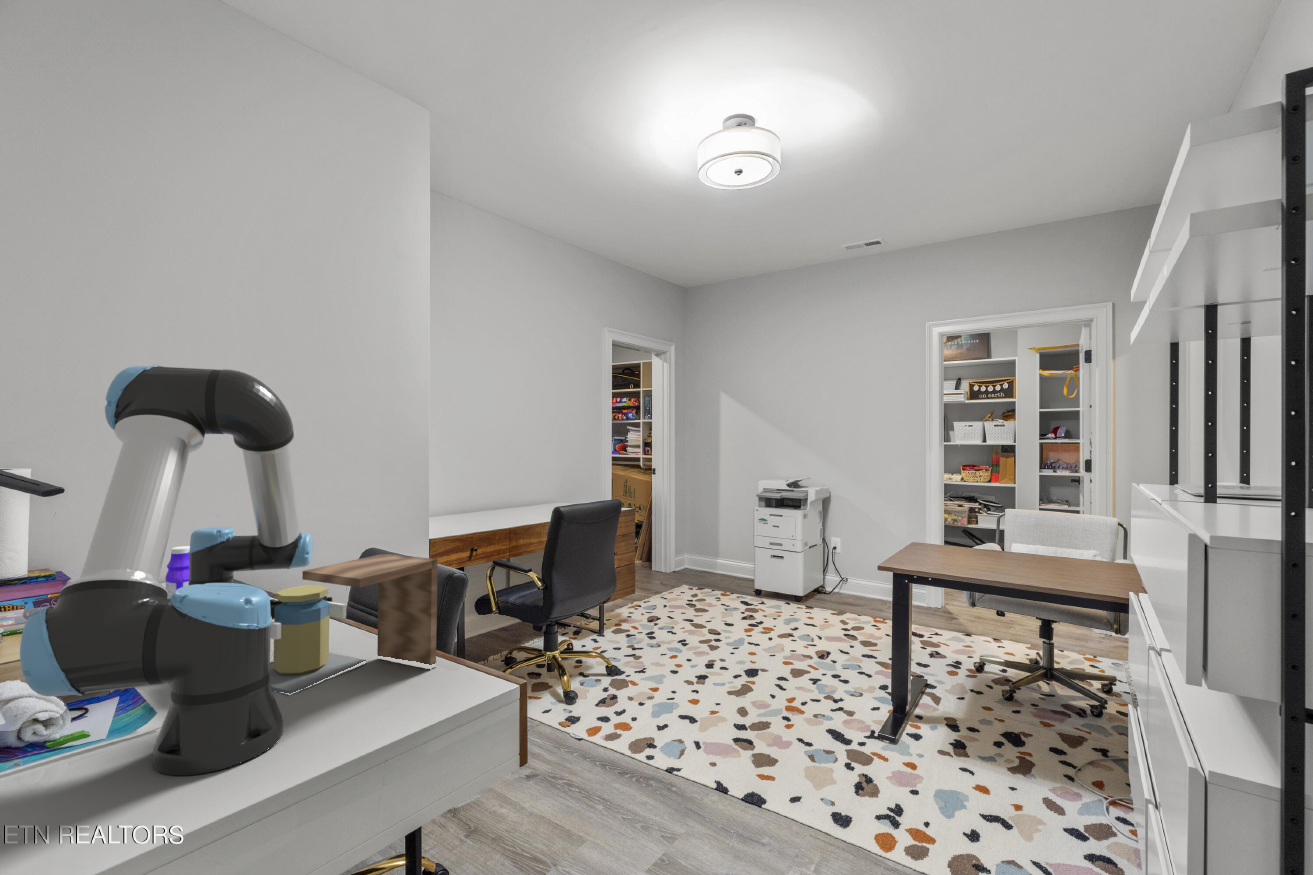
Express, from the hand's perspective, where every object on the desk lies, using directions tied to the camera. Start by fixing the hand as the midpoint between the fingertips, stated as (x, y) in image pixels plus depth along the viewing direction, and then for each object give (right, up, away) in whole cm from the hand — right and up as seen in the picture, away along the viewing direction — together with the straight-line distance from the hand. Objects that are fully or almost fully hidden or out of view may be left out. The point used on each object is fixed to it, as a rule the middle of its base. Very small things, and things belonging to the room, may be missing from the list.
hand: (313, 620), depth 112 cm
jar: (-3, -10, +1) cm, 10 cm away
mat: (-3, -10, +1) cm, 11 cm away
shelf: (+12, -10, -2) cm, 16 cm away
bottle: (-54, -10, +35) cm, 66 cm away
